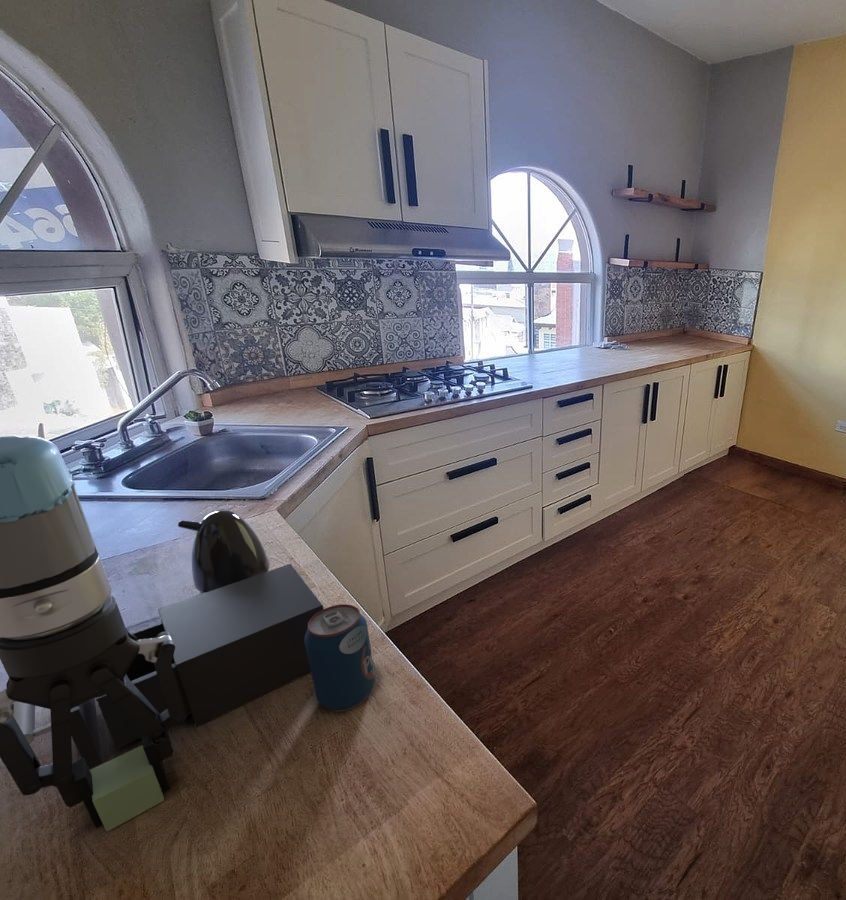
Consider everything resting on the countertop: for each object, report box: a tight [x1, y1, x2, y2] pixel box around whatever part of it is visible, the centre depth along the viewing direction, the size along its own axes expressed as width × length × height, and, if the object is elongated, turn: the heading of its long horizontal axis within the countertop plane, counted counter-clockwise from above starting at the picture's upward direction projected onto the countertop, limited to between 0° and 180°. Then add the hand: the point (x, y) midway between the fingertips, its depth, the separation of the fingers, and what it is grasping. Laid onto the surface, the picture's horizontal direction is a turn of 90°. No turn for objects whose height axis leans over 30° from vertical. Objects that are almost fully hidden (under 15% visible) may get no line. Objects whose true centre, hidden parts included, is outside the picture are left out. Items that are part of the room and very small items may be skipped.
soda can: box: [304, 603, 376, 712], centre depth 63 cm, size 7×7×12 cm
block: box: [89, 744, 165, 833], centre depth 51 cm, size 4×4×4 cm
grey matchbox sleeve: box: [157, 563, 325, 728], centre depth 68 cm, size 16×14×10 cm
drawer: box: [13, 620, 192, 770], centre depth 60 cm, size 19×12×8 cm, turn 136°
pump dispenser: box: [177, 509, 271, 594], centre depth 81 cm, size 10×10×15 cm
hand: (132, 798), depth 52 cm, fingers closed on block, 4 cm apart
